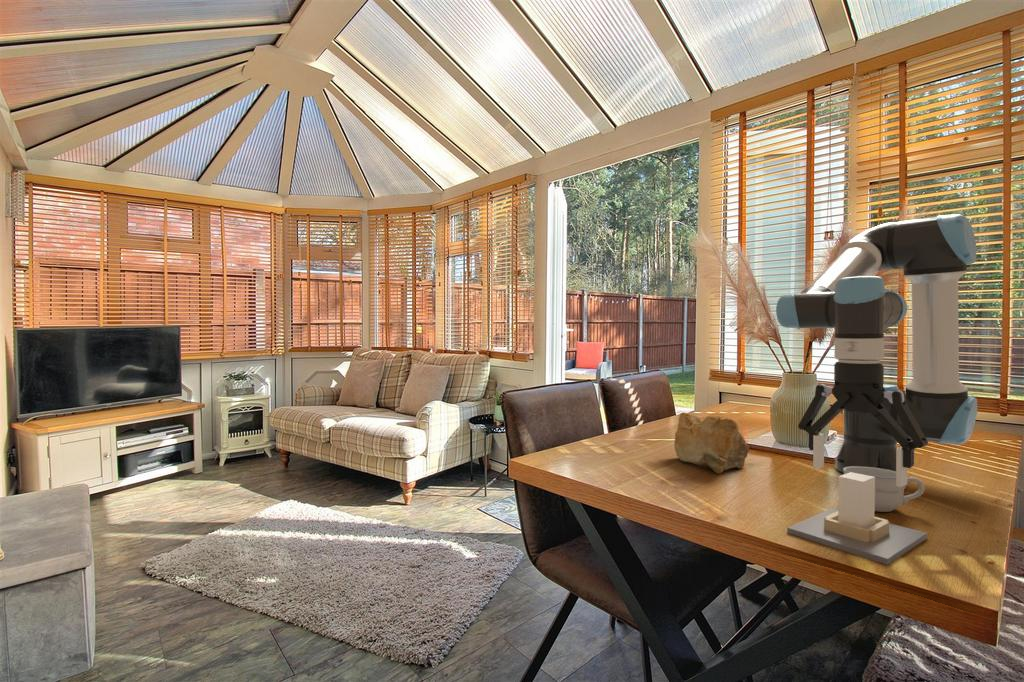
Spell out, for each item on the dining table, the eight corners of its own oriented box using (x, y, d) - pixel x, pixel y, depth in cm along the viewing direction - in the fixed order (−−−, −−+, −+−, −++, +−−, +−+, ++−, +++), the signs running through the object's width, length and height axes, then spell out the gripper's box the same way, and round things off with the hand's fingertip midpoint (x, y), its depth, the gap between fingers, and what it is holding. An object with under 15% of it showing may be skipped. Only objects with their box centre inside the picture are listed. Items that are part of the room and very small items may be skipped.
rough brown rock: (772, 479, 133) (775, 421, 133) (715, 478, 129) (719, 419, 130) (717, 460, 156) (720, 410, 156) (668, 458, 152) (671, 408, 152)
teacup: (836, 507, 110) (837, 470, 110) (849, 495, 117) (849, 461, 117) (919, 525, 100) (919, 484, 100) (927, 511, 108) (927, 473, 107)
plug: (850, 524, 98) (850, 472, 98) (874, 530, 95) (874, 476, 94) (838, 530, 95) (838, 476, 95) (862, 537, 92) (863, 481, 91)
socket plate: (831, 512, 107) (832, 498, 106) (927, 538, 93) (927, 522, 93) (787, 532, 96) (787, 517, 96) (887, 564, 83) (887, 546, 83)
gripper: (779, 359, 102) (779, 464, 103) (936, 366, 82) (934, 498, 82) (798, 357, 106) (798, 458, 107) (951, 363, 86) (950, 489, 87)
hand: (857, 476), depth 95 cm, fingers open, 13 cm apart
